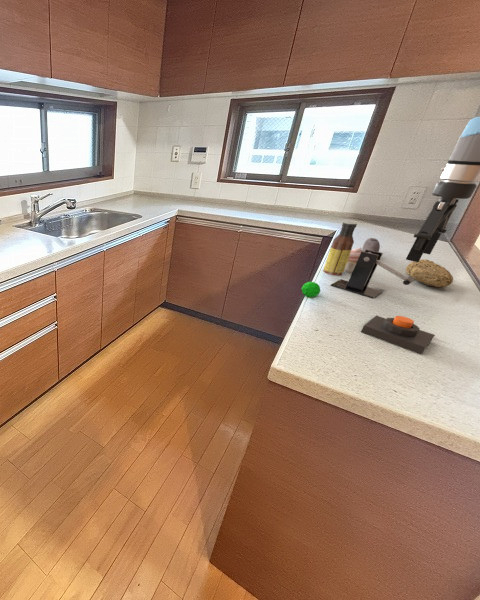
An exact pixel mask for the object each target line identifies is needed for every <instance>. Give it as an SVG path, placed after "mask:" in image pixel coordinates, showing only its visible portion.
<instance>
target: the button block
mask: <svg viewBox="0 0 480 600" xmlns="http://www.w3.org/2000/svg"><path fill="white" fill-rule="evenodd" d="M394 318H395V317H386V318H385V317H383V316H379V315H375V316H374V317H372V319H370V320H369V321H368V322H366V323H365V324H363V327H362V329H361V330H360V333H362V334H365V335H367V336H370V337H372V338H375V339H378V340H380V341H384V342H386V343H389V344H392V345H394V346H396V347H399V348H402V349H405V350H407V351H410V352H413V353H416V354H418V355H423V353H424V352H425V350H426V349H427V348H428V346H429V345H430V344H431V342H432V341H433V340H434V338H435V334H434V333H432V332H428V331H425V330H422V329H420V327H419V326H418V325H416V324H415V323H413V325H412V327H411V328H403V327H400V326H397V325H395V324H393V323H392V322H393V320H394Z"/></svg>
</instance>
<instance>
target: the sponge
mask: <svg viewBox="0 0 480 600" xmlns="http://www.w3.org/2000/svg"><path fill="white" fill-rule="evenodd" d="M405 272H406V275H408V276H409V277H411V276H412V277H414V278H415V280H416V281H417V282H419V283H422V284H424V285H427V286H431V287H436V288H446V287H448V286H450V285H451V284H453V282H454V281H453V280H454V277H453V275H452V274H451V272H450V271H449V270H448V269H446V268H445V267H444V266H442V265H440V264H438V263H435V262H434V261H433V260H430V259H425V258H420V260H419V262H414V261H410V263H408V264H407V265H406V267H405ZM415 280H414V281H415Z"/></svg>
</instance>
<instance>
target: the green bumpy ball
mask: <svg viewBox="0 0 480 600" xmlns="http://www.w3.org/2000/svg"><path fill="white" fill-rule="evenodd" d="M320 292H321V287H320V285H319V284H318V283H317V282H315V281H307V282H305V283H304V284H303V285H302V286H301V293H302V294H303V295H304V296H305V297H307V298H315V297H317V296H318V295H320Z"/></svg>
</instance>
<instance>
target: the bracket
mask: <svg viewBox="0 0 480 600" xmlns="http://www.w3.org/2000/svg"><path fill="white" fill-rule="evenodd" d="M368 252H371V253H368ZM372 253H373V254H372ZM383 254H384V252H381V251H379V252H376V251H372V250H367V249H366V250H365V252H363V250H362V252H361V254H360V256H359V258H358V261H357V263H356V265H355V267H354V270H353V272H352V273H350V277H349V279H348V280H345V279H338V280H337V281H335V282H333V283H331V284H330V287H332V288H336V289H340V290H342V291H345V292H349V293H352V294H356V295H360V296H363V297H365V298H369V299H375V298H376V297H377V296H378V295H380V294H382V292H383V290H380V289H377V288H373V287H369V284H370V282H371V280H372V277H373V276H374V273H375V271H376V269H377V267H378V265H377V264H375V263H376V260H379V261H381V258H382V256H383Z"/></svg>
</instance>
